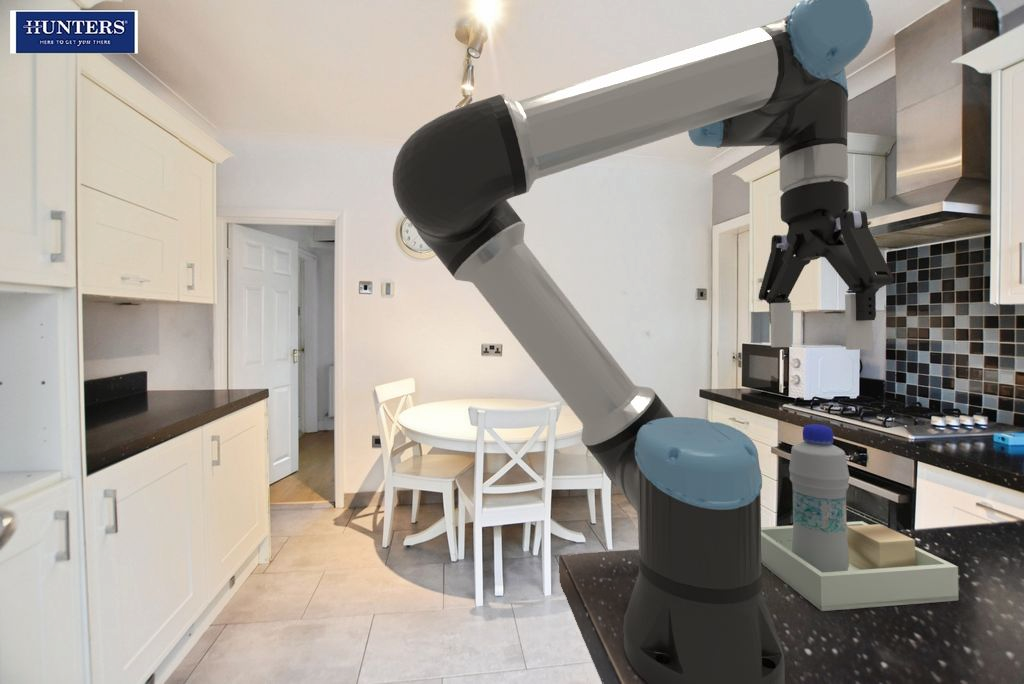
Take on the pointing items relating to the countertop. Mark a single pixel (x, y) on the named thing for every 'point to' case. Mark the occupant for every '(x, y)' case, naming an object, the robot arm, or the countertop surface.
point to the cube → (879, 547)
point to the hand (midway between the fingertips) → (815, 348)
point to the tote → (859, 577)
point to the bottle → (819, 500)
